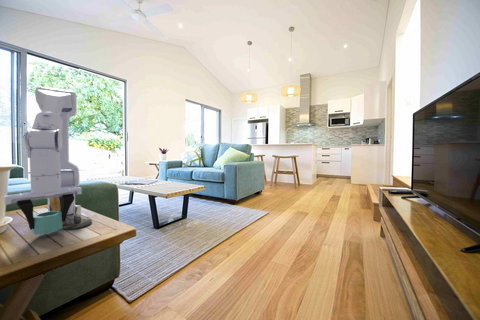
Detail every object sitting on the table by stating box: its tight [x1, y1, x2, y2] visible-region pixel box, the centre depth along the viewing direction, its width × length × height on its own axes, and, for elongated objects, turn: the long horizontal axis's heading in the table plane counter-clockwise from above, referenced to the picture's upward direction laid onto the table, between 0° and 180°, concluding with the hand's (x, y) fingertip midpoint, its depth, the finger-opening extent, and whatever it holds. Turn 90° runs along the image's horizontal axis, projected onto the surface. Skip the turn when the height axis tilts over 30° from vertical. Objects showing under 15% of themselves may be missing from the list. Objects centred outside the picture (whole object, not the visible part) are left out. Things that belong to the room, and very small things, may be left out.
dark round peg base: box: [61, 204, 93, 231], centre depth 60 cm, size 7×7×6 cm
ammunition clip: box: [49, 197, 60, 211], centre depth 61 cm, size 11×2×12 cm, turn 48°
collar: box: [32, 210, 63, 235], centre depth 53 cm, size 5×5×4 cm
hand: (48, 224), depth 53 cm, fingers closed on collar, 5 cm apart
